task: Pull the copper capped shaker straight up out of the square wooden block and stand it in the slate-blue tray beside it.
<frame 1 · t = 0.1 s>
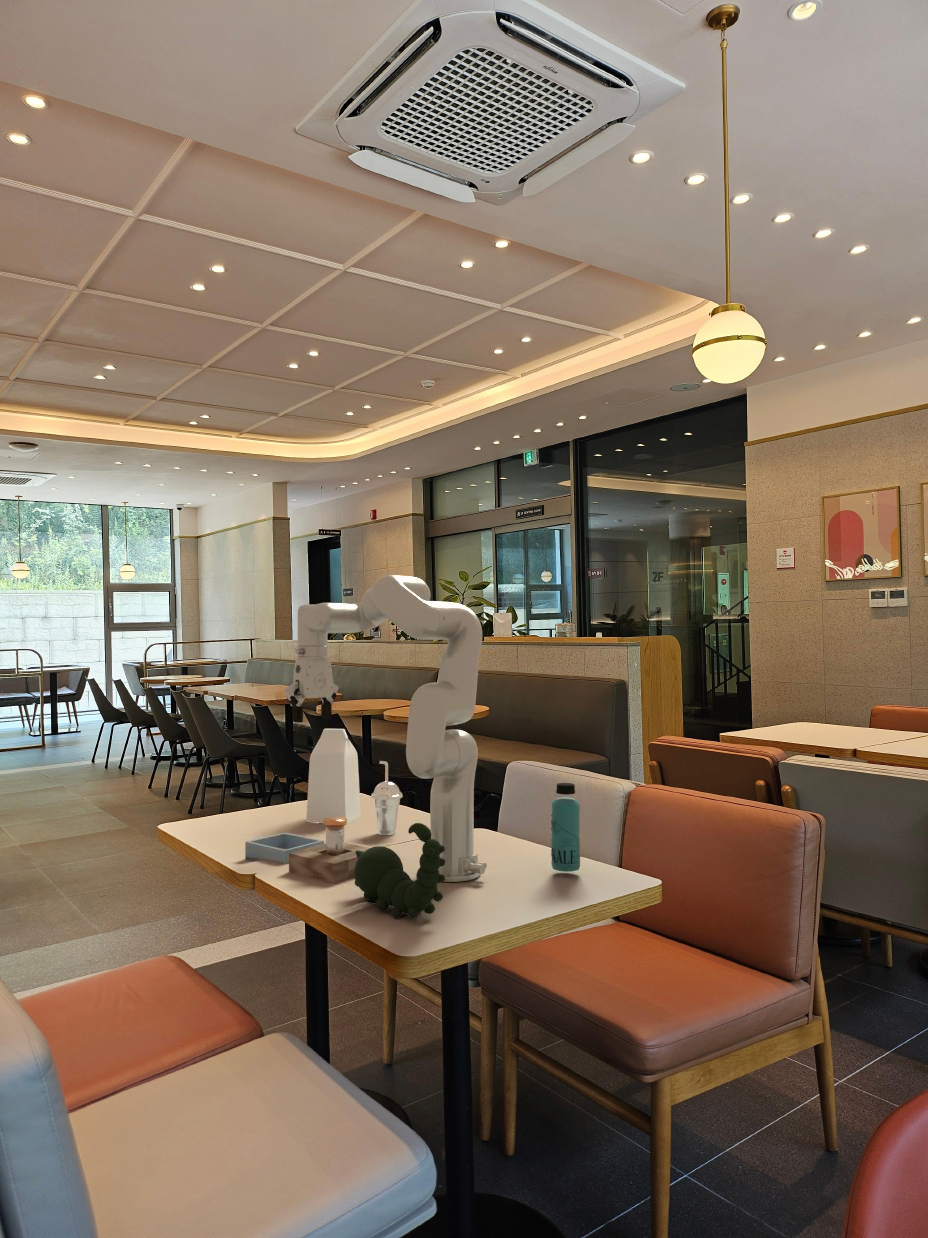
hand: (312, 720, 209), 31 cm above the table, tool pointing down, fingers open, 9 cm apart
toy figurine: (394, 912, 157), on the table
milk: (333, 820, 238), on the table
tray: (284, 858, 195), on the table
square wooden block: (334, 875, 181), on the table
cup with straw: (386, 834, 220), on the table
beverage bottle: (565, 875, 181), on the table
copper capped shaker: (335, 870, 181), point 1 cm above the table, touching square wooden block
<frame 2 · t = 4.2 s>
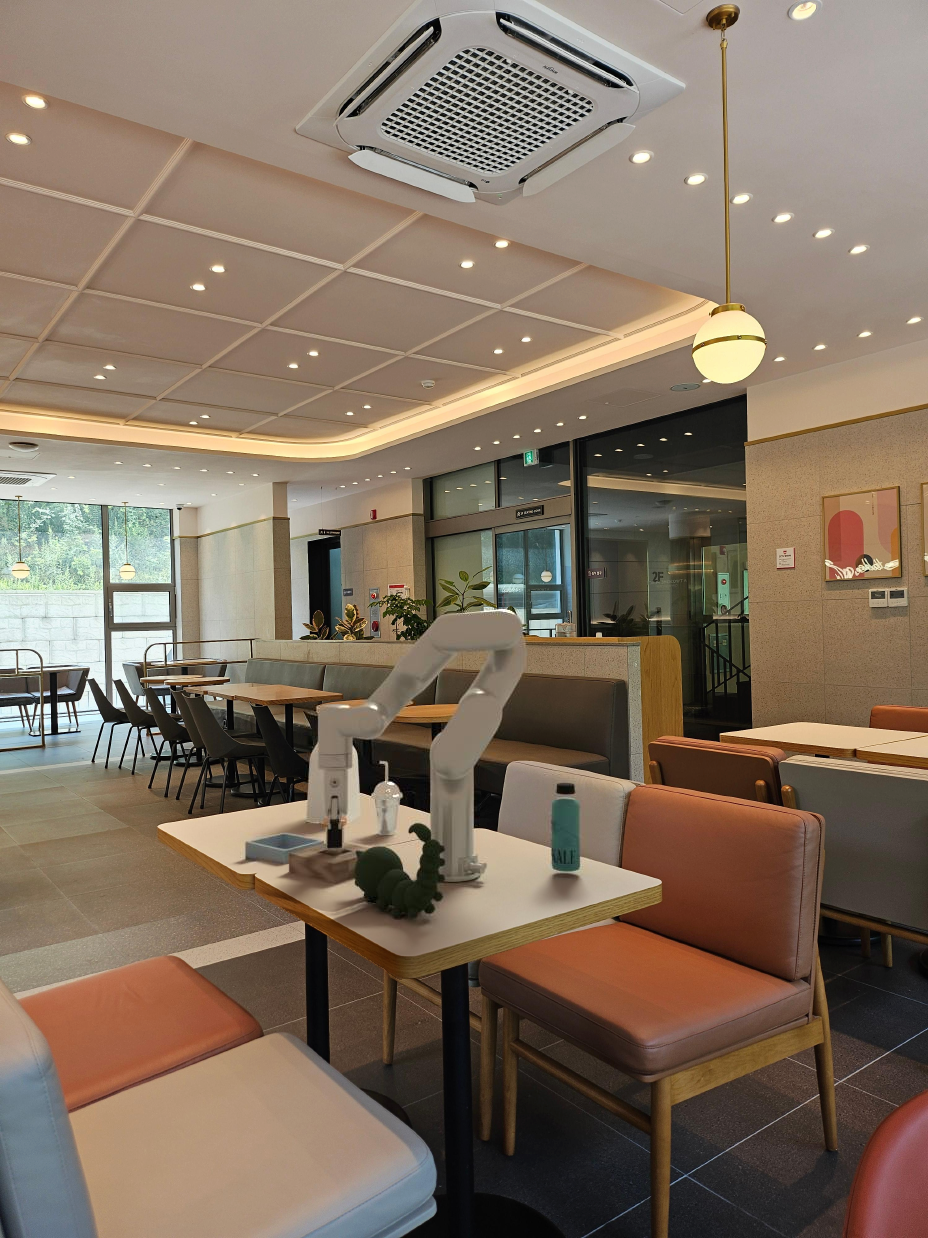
hand: (334, 843, 181), 7 cm above the table, tool pointing down, fingers closed on copper capped shaker, 4 cm apart
copper capped shaker: (335, 870, 181), point 1 cm above the table, touching square wooden block, gripper
everything else where it was.
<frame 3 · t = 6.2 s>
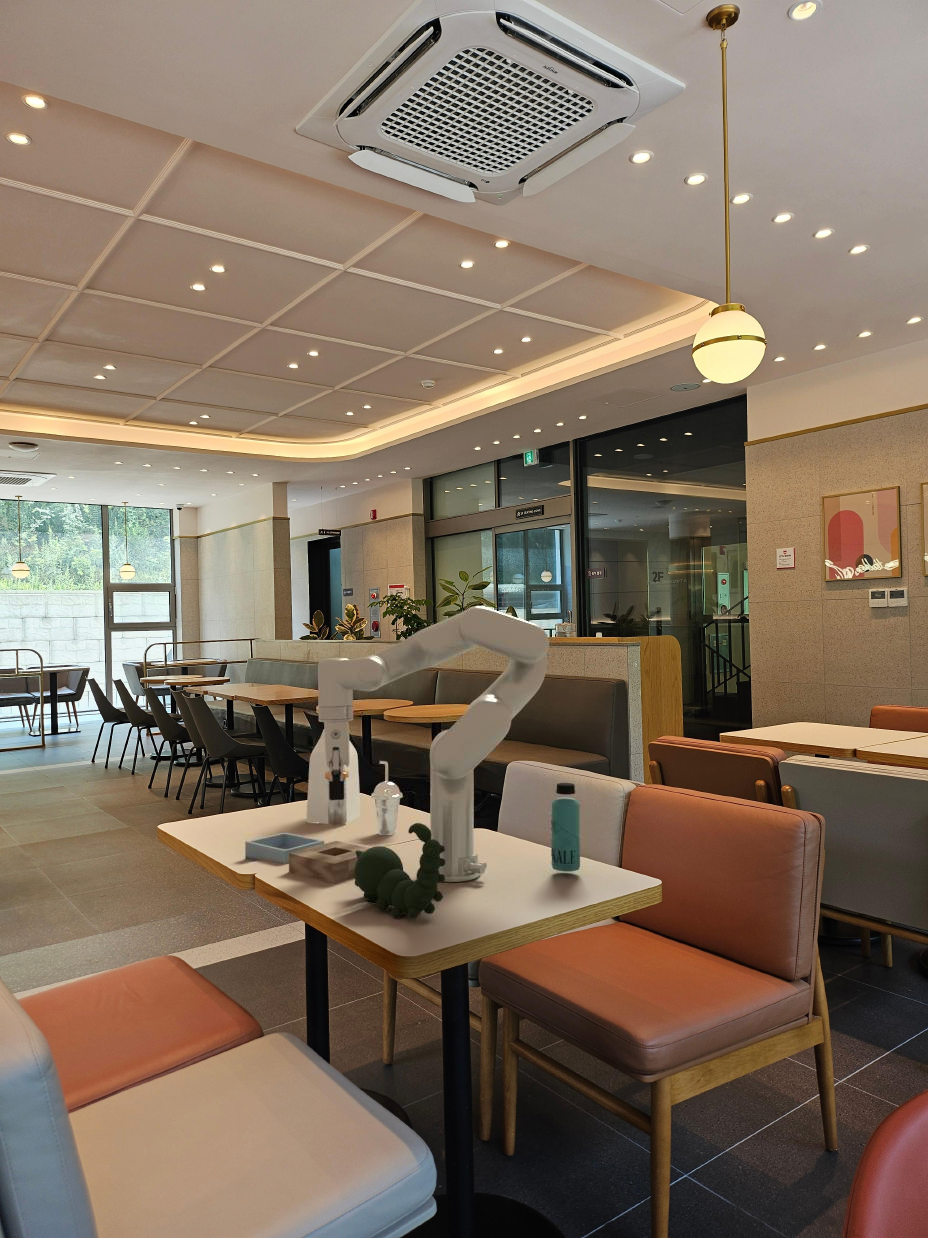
hand: (337, 796, 181), 17 cm above the table, tool pointing down, fingers closed on copper capped shaker, 4 cm apart
copper capped shaker: (337, 822, 181), point 11 cm above the table, touching gripper
everything else where it was.
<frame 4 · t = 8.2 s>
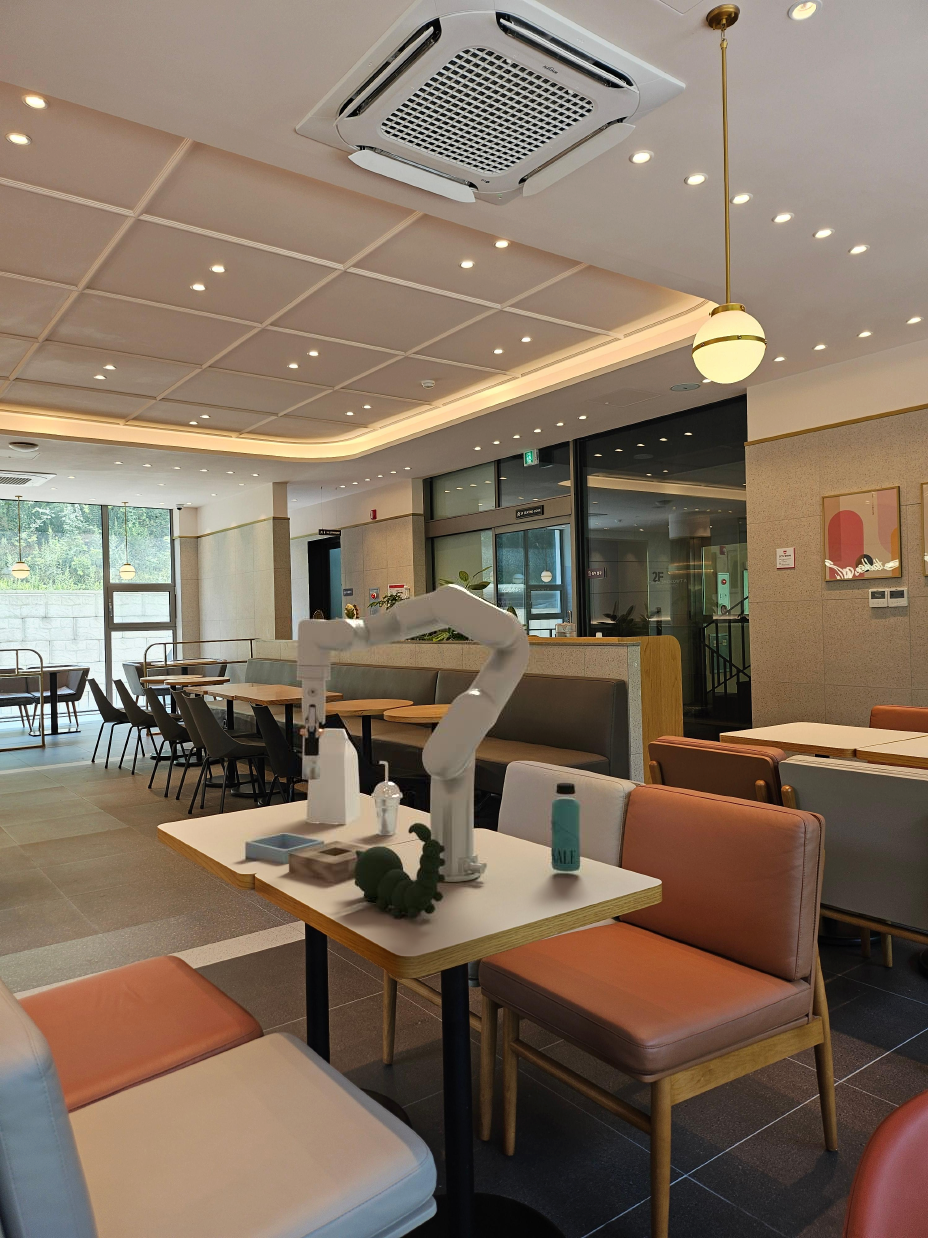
hand: (311, 753, 187), 26 cm above the table, tool pointing down, fingers closed on copper capped shaker, 4 cm apart
copper capped shaker: (311, 778, 187), point 20 cm above the table, touching gripper
everything else where it was.
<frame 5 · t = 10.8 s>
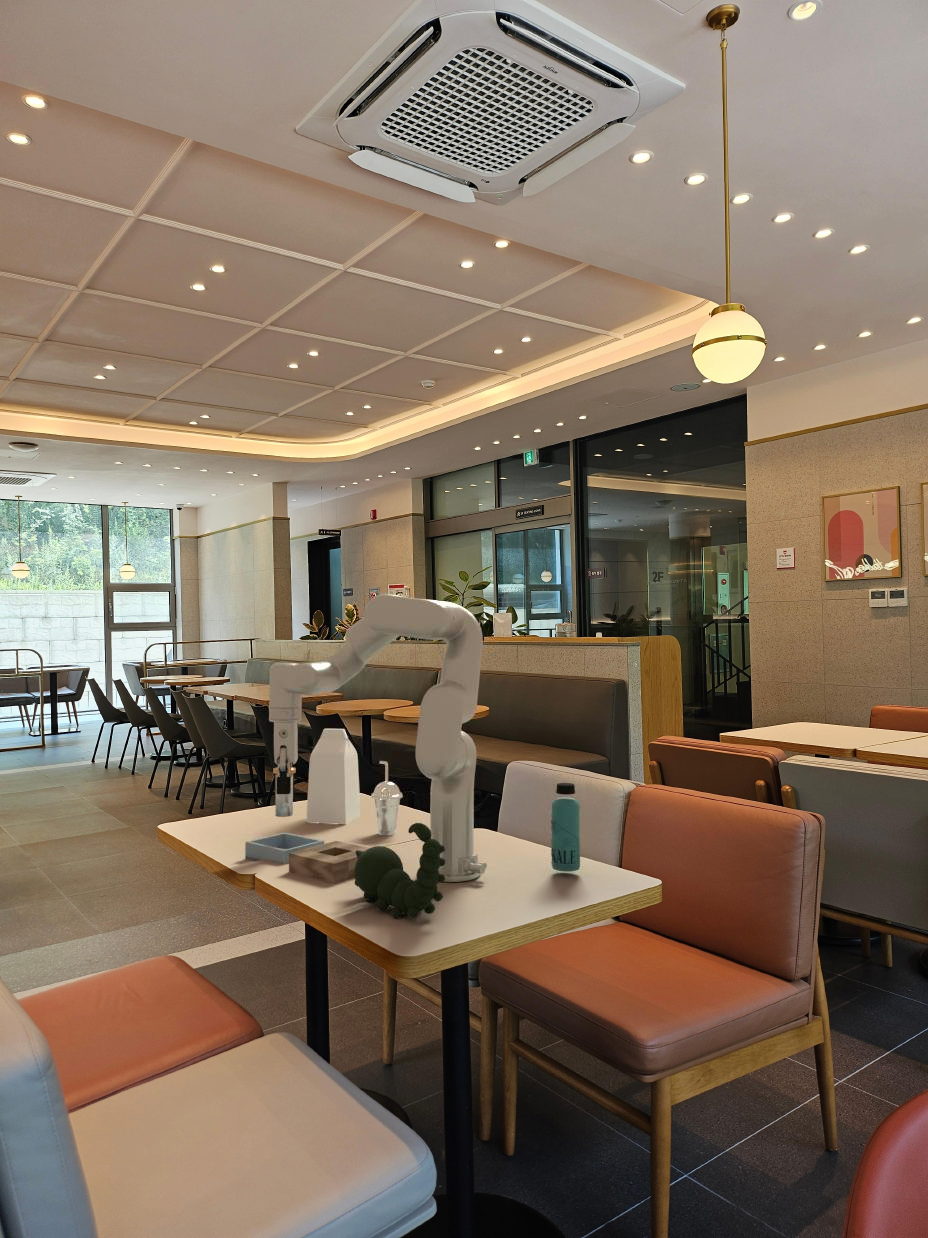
hand: (284, 791, 196), 16 cm above the table, tool pointing down, fingers closed on copper capped shaker, 4 cm apart
copper capped shaker: (284, 815, 195), point 10 cm above the table, touching gripper
everything else where it was.
when the fingers open (8 cm above the table, at t = 12.7 s): copper capped shaker drops 1 cm, resting on tray.
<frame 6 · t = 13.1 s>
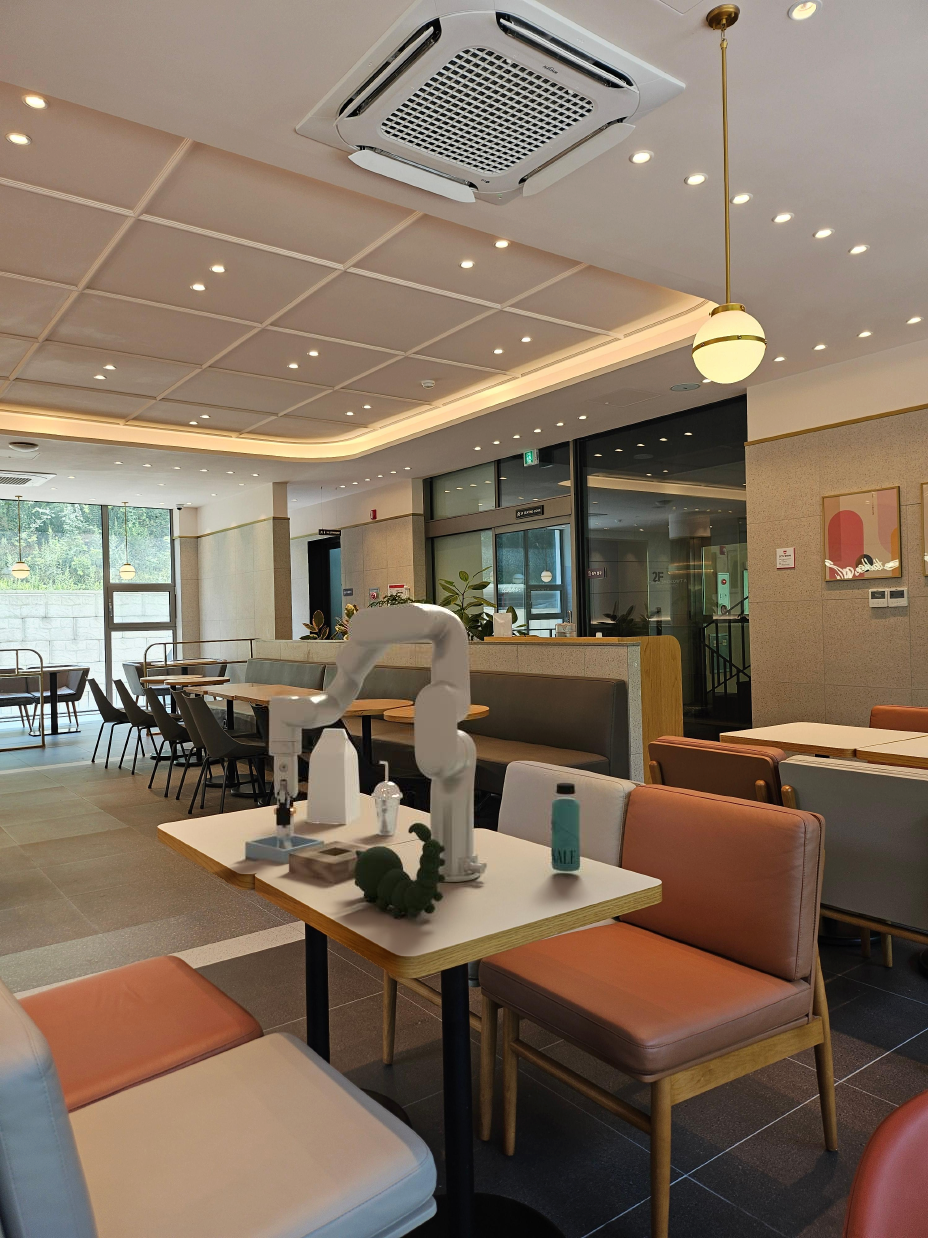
hand: (285, 820, 195), 9 cm above the table, tool pointing down, fingers open, 9 cm apart
copper capped shaker: (284, 855, 194), point 1 cm above the table, touching tray
everything else where it was.
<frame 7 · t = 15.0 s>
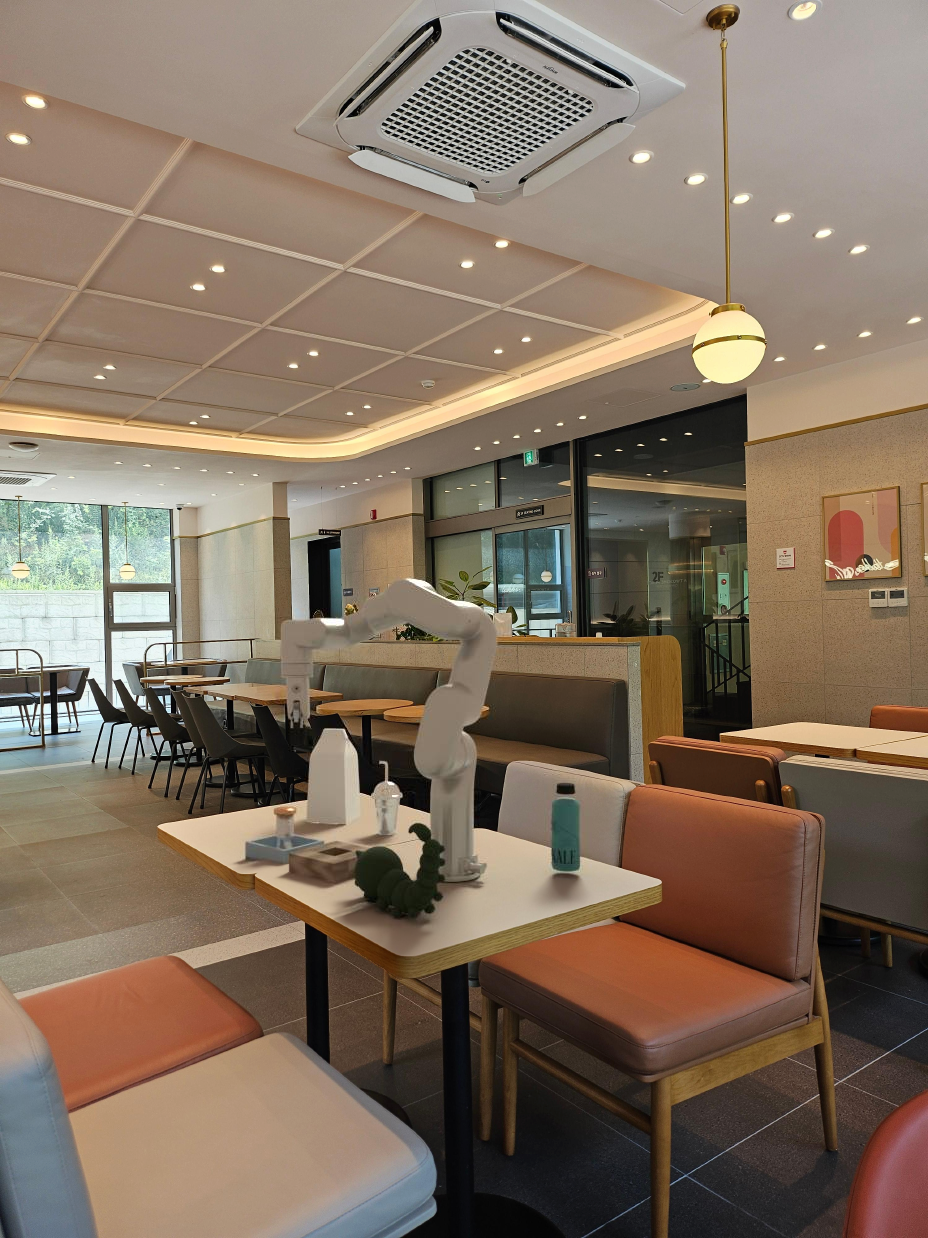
hand: (298, 743, 197), 27 cm above the table, tool pointing down, fingers open, 9 cm apart
nothing on the table moved.
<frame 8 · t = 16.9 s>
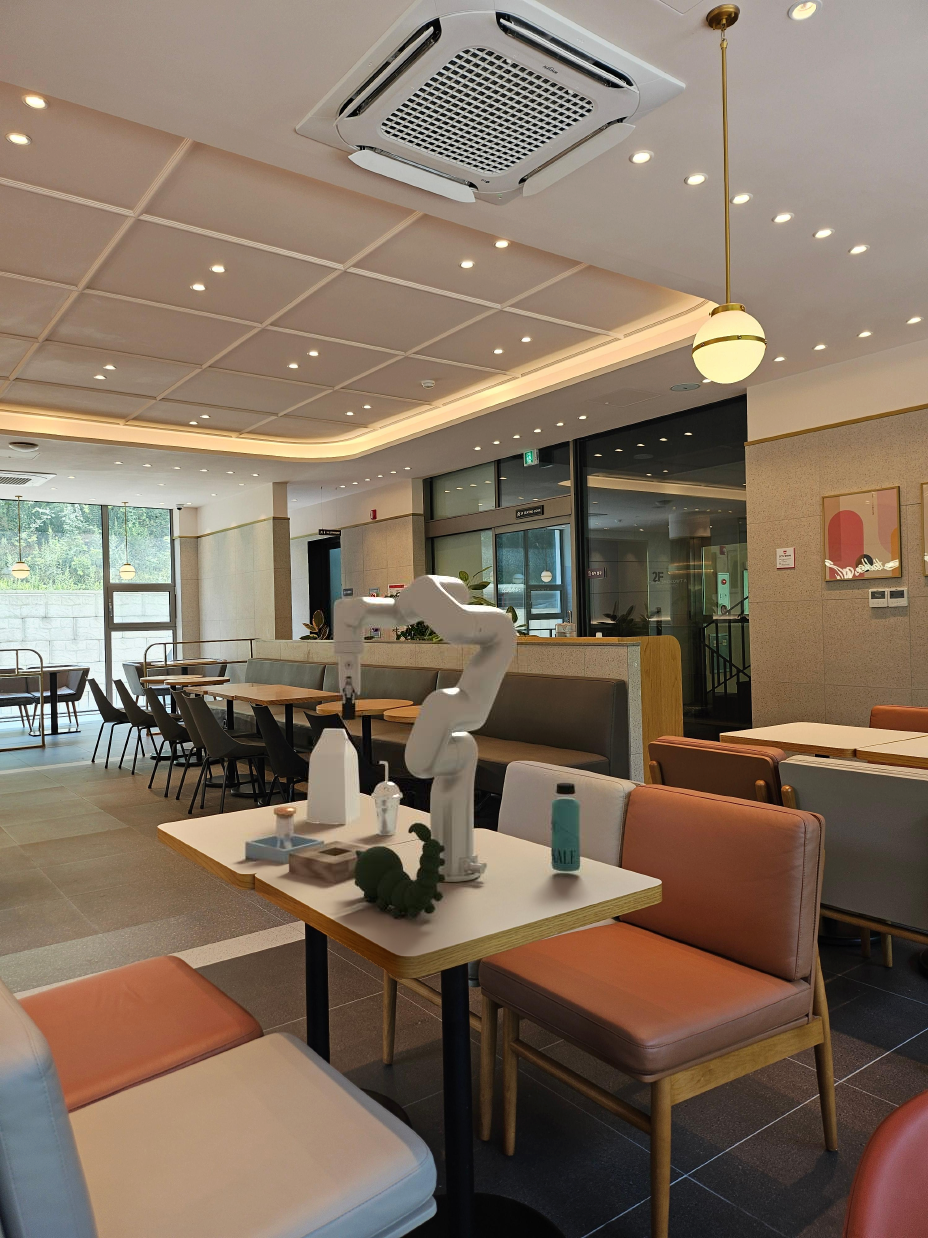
hand: (348, 718, 204), 32 cm above the table, tool pointing down, fingers open, 9 cm apart
nothing on the table moved.
at the end: copper capped shaker inside the target area on the tray (0.8 cm from its centre), point 0.8 cm above the tray's base; copper capped shaker touching tray; the gripper is holding nothing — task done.
